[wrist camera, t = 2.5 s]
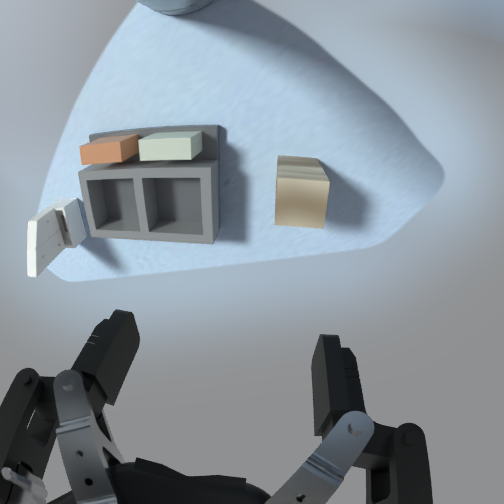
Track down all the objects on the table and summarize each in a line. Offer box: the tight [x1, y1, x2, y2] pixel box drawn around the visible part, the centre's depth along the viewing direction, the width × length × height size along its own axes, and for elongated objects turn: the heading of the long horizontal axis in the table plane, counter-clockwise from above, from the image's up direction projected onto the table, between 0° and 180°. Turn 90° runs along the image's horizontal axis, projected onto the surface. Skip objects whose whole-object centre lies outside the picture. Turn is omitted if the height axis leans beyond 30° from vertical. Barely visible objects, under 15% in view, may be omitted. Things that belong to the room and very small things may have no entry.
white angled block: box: [27, 198, 87, 277], centre depth 31 cm, size 4×10×9 cm, turn 0°
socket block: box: [78, 125, 220, 244], centre depth 28 cm, size 12×15×5 cm
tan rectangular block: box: [275, 155, 330, 228], centre depth 26 cm, size 4×4×8 cm
